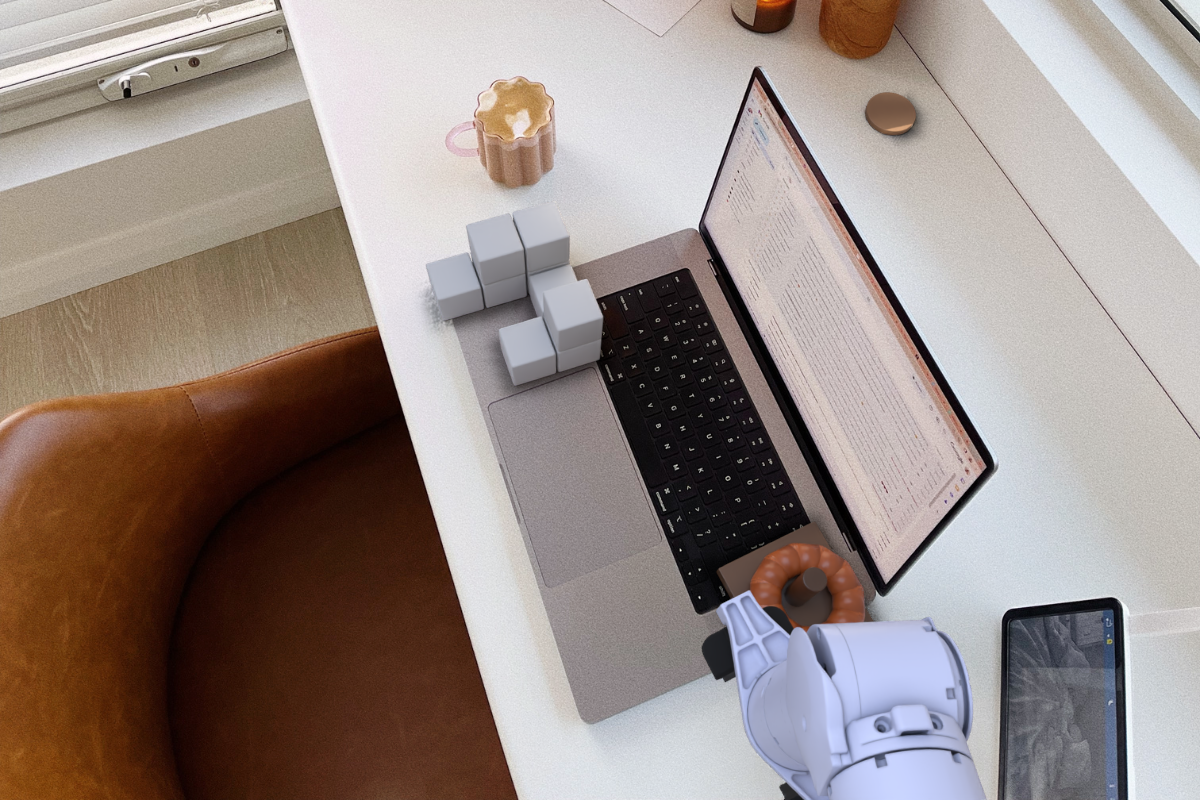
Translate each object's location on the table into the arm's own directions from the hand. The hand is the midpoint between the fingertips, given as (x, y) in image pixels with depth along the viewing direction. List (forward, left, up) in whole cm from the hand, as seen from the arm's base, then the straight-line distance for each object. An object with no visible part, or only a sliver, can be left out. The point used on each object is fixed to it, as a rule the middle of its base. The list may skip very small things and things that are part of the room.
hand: (765, 725), depth 59 cm
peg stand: (+7, -9, -10) cm, 15 cm away
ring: (+6, -9, -8) cm, 14 cm away
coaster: (+45, -43, -10) cm, 63 cm away
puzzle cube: (+39, +1, -11) cm, 40 cm away
